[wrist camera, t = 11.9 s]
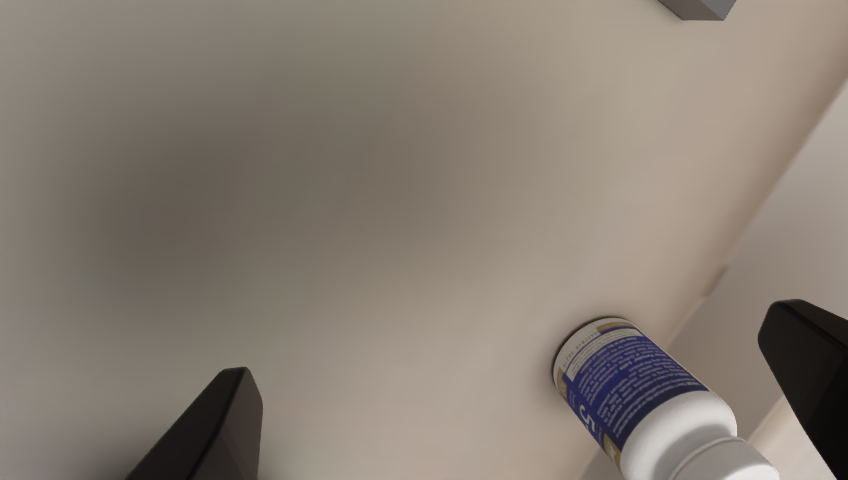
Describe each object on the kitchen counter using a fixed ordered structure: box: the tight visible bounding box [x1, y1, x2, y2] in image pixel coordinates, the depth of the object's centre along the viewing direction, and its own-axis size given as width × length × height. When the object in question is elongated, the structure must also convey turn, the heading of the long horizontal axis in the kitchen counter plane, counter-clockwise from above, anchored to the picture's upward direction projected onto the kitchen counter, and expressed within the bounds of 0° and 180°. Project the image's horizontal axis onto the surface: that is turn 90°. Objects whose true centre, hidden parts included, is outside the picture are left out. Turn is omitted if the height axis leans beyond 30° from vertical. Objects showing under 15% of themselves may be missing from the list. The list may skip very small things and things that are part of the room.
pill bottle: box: [553, 318, 780, 480], centre depth 22 cm, size 5×5×9 cm
